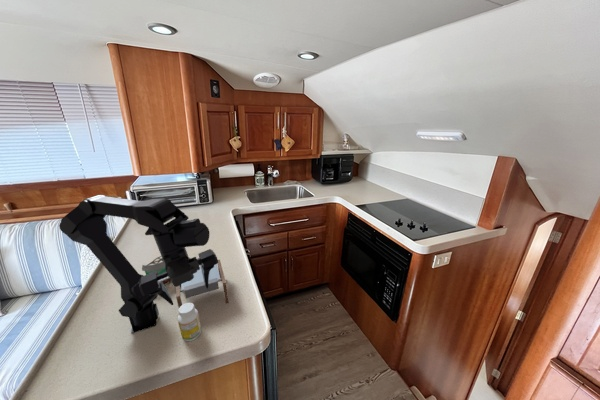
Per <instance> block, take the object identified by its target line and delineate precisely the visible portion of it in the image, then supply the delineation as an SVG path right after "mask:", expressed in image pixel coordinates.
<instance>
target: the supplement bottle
mask: <svg viewBox="0 0 600 400" xmlns="http://www.w3.org/2000/svg"><path fill="white" fill-rule="evenodd" d="M177 323H178V326H179V332H180V335H181V338H182V340H183V341H185V342H191V341H194V340H196V339H197V338H198V337H199V336H200V335H201V333H202V325H201V320H200V315H199V311H198V309H196V308H195V304H194V303H192V302H185V303H184V304H183V303H182V306H181V307H180V308H179V307H178V316H177Z"/></svg>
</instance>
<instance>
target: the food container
mask: <svg viewBox="0 0 600 400" xmlns="http://www.w3.org/2000/svg"><path fill="white" fill-rule="evenodd" d="M141 271H143V272H144V273H145V275H147V274H149V273H152V272H154V271H156V272H157V274H158V275H159V274H161V273H164V272H166V270H165V264H164V261H163V259H162V256H161V255H159V256H157V257H156V258H155V259H153V260H152V261H151V262H149V263H148V264H146V265H145V264H142V267H141ZM162 282H163V284H164V285H167V284H168V283H171V279H170V278H169V279H166V280H164V281H162Z"/></svg>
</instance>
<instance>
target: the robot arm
mask: <svg viewBox="0 0 600 400" xmlns="http://www.w3.org/2000/svg"><path fill="white" fill-rule="evenodd" d="M106 216H110V217H117V218H124V219H129V220H130V219H131V220H134V221H135V222H136V223H137V224H138V225H140V226H143V227H146V228H147V230H146V231H145V232H144V235H145V236H153V239H154V241H155V244H156V246H157V248H158V251H159V253H160V256H162V259H163V261H164V264H165V270H166V272H164V273H161V274H159V275H158V274H157V272H156V271H154V272H152V273H149V274H147V275H146V274H145V275H144V274H140V273H138V271H137V270H136V269H135V267H134V266H133V265H132V264H131V262H130V261H129V260H128V259H127V257H126V256H125V254H123V253H122V251H121V249H119V248H118V246H117V245H116V244H115V243H114V241H113V239H111V238H110V237H109V236H108V224H107V221H106V220H105V217H106ZM58 227H59V229H60V231H61V232H62V233H63V234H64V235H66V236H67V237H68V238H69V239H70V240H71V241H72V242H75V243H78V244H81V245H85V246H86V247H87V248H88V249H89V250H90V251H91V252H92V254H93V255H94V256H95V257H96V258H97V260H98V261H99V262H100V263H101V264H102V265H103V267H104V269H106V270H107V271H108V273H109V274H110V275H111V276H112V278H113V279H114V280H115V281H116V283H117V284H119V286H120V298H121V300H122V302H123V303H124V304H122V306H121V307H120V308H119V309H118V312H119V314H120V315H121V316H122V317H126V318H128V320H129V321H130V326H131V330H130V333H131V334H135V333H137V332H140V331H143V330H147V329H150V328H153V327H156V326H157V323H158V319H159V315H160V312H159V308H158V306H157V303H155V302H154V301H155V300H156V299H157V298H158V297H161V298H162V299H164V300H165V301H166V302H167V303H168V304H170V305H171V306H173V305H174V301H173V299H172V296H171V294H170V293H169V291H168V288H167V287H166V286H165V285H166V284H163V282H162V281H164V280H166V279H169V278H170V279H171V281H170V283H172V286H173V287H175V288H176V287H177V286H180V285H181V284H183V283H185V282H187V281H191V280H192V279H193V278H194V275H193V274H194V273H196V272H197V270H200V267H199V265H201V270H202V275H203V279H204V283H205V286H206V288H208V280H209V272H210V270H211V269H212V268H214V265H216V264H217V265H218V260H219V259H218V257H217V255H216V253H215V252H214V250H213V249H211V248H209V249H207V250H204V251H202V252H199V253H198V254H197V255H198V258H197V257H196V256H194V257H189V255H188V251H187V249H186V248H189V247H190V248H191V247H203V246H205V245H207V243H208V242H209V239H210V229H209V227H208V226H207V224H205V223H204V222H201V220H200V218H194V219H189V216H188V215H187V214H186V213H185V212H183V211H182V210H181V209H180V208H178V206H176V205H175V204H174V203H173V202H172V200H171V199H168V198H164V197H163V198H152V199H146V200H136V199H135V200H134V199H128V198H120V197H111V196H107V195H105V194H97V195H94V196H90V197H87V198H84V199H83V200H82V201H80V202H79V204H78V205H77V206H76V207H75V208H73V209H72V210H71V211H69V212H68V213H67V214H65V216H64V217H62V218H61V219H60V223H59V225H58Z"/></svg>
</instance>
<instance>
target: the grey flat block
mask: <svg viewBox="0 0 600 400" xmlns="http://www.w3.org/2000/svg"><path fill="white" fill-rule="evenodd" d="M199 267H200V270H197V272H196V273H194V274H193V275H194V278H193V279H192V280H191V281H187V282H185V283H183V284H181V287H180V293H184V297H185V299H189V298H192V297H196V296H200V295H203V294H206V293H210V292H213V291H216V290H220V287H219V283H220V282H222V279H221V278H220V275H219V269H218V263H217V264H216V265H214V268H212V269H211V270H210V272H209V280H208V288H206V286H205V283H204V279H203V275H202V270H201V265H199Z"/></svg>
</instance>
